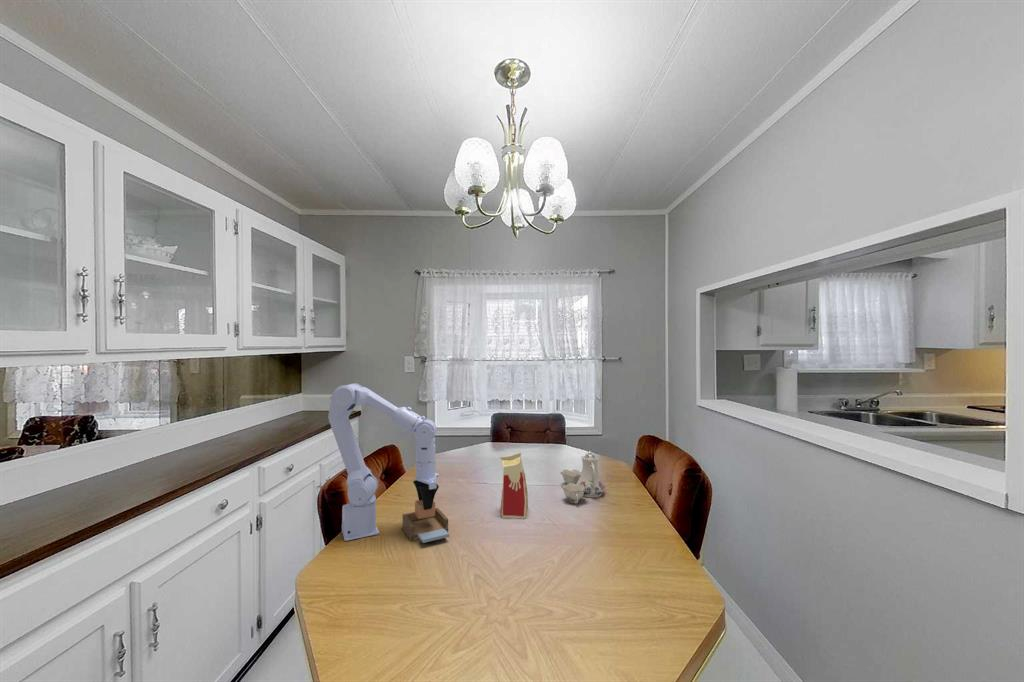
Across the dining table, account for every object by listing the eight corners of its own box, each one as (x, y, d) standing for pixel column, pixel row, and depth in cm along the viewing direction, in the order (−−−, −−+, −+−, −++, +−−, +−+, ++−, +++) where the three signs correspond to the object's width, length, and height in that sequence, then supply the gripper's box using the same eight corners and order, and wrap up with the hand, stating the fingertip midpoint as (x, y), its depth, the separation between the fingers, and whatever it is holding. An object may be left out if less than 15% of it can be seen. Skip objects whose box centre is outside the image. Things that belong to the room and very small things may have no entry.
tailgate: (418, 538, 114) (422, 544, 110) (418, 534, 114) (422, 539, 110) (443, 532, 118) (449, 537, 114) (443, 528, 118) (449, 533, 114)
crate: (412, 542, 113) (412, 528, 113) (402, 527, 123) (402, 514, 123) (449, 534, 118) (449, 520, 119) (437, 520, 128) (437, 507, 128)
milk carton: (528, 508, 138) (527, 449, 139) (526, 519, 129) (526, 456, 130) (501, 507, 139) (501, 448, 140) (498, 518, 130) (497, 455, 130)
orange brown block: (418, 518, 118) (418, 505, 118) (414, 514, 121) (415, 500, 121) (435, 515, 120) (435, 502, 120) (431, 511, 124) (431, 498, 124)
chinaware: (557, 485, 166) (553, 445, 167) (597, 481, 166) (593, 441, 167) (566, 512, 138) (560, 464, 139) (614, 507, 138) (609, 458, 139)
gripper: (446, 464, 117) (446, 512, 117) (431, 453, 130) (431, 496, 129) (422, 468, 114) (422, 517, 113) (409, 456, 126) (409, 500, 126)
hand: (425, 506), depth 121 cm, fingers closed on orange brown block, 4 cm apart
